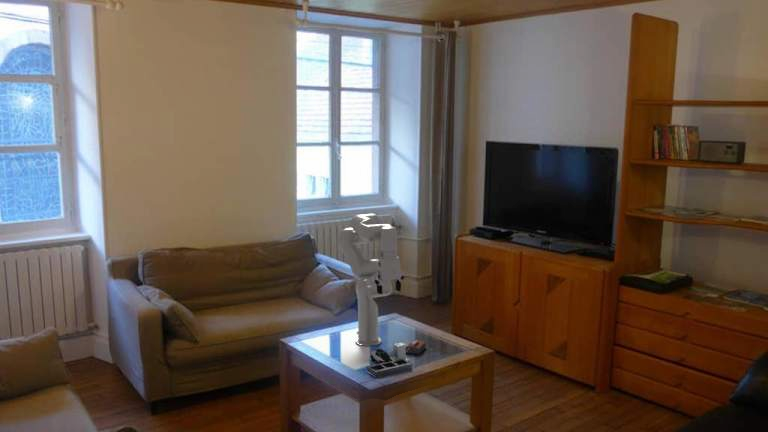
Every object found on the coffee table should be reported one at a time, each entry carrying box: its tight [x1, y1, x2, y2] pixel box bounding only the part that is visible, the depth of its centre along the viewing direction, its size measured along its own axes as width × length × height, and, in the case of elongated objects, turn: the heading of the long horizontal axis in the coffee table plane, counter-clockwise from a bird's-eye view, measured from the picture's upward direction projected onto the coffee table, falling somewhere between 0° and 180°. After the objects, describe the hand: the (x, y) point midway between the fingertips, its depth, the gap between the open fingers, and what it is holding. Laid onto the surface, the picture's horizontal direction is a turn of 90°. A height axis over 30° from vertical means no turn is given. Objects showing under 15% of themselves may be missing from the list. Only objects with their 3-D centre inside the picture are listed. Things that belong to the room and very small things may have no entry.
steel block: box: [393, 342, 407, 360], centre depth 302 cm, size 4×4×7 cm
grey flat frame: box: [366, 358, 413, 378], centre depth 290 cm, size 18×8×2 cm, turn 122°
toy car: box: [370, 348, 393, 364], centre depth 300 cm, size 6×12×5 cm, turn 26°
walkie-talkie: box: [405, 339, 426, 355], centre depth 313 cm, size 9×4×20 cm
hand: (389, 292), depth 303 cm, fingers open, 9 cm apart
